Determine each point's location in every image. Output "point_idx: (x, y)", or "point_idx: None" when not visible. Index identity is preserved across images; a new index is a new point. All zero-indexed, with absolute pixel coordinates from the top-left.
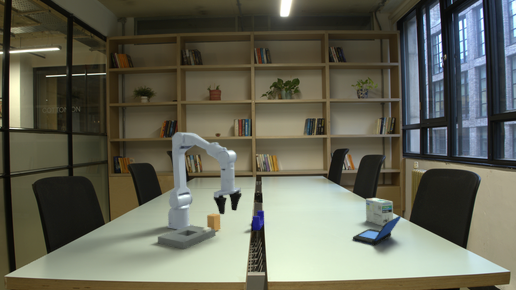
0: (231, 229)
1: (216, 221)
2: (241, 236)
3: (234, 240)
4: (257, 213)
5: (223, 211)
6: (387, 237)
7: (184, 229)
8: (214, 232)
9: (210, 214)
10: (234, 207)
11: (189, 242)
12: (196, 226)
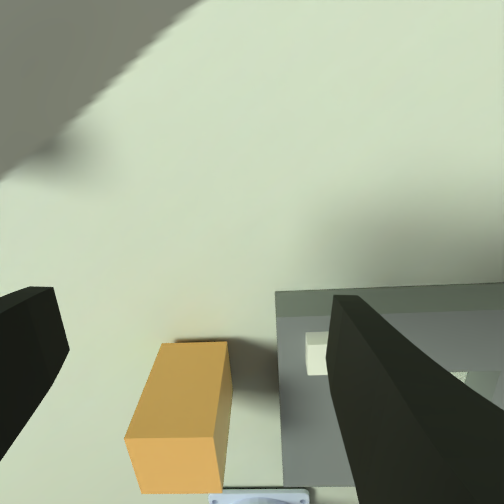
0: (98, 287)
1: (190, 392)
2: (173, 103)
3: (291, 85)
4: None
5: (378, 314)
6: None
7: None
8: (286, 304)
9: (183, 490)
10: (28, 336)
11: None
12: (287, 450)
